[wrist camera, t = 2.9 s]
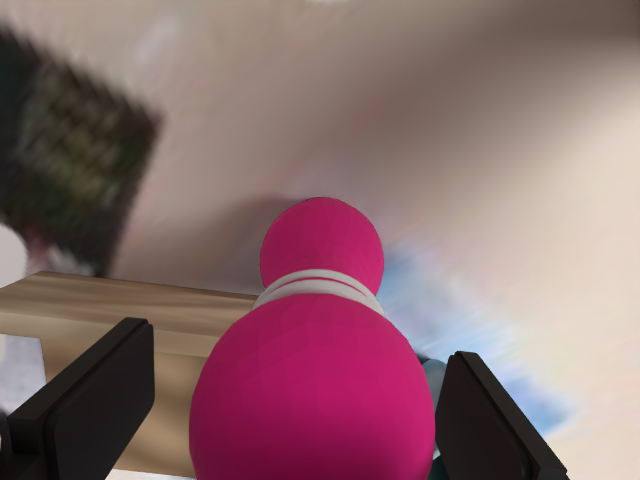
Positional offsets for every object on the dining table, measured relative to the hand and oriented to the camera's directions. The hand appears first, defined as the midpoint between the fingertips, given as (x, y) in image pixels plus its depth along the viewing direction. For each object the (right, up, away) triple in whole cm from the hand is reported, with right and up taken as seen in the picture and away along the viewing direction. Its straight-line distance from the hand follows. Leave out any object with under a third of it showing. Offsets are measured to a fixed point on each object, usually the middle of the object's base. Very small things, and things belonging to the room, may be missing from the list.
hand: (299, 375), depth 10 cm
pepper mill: (+1, +4, +14) cm, 14 cm away
